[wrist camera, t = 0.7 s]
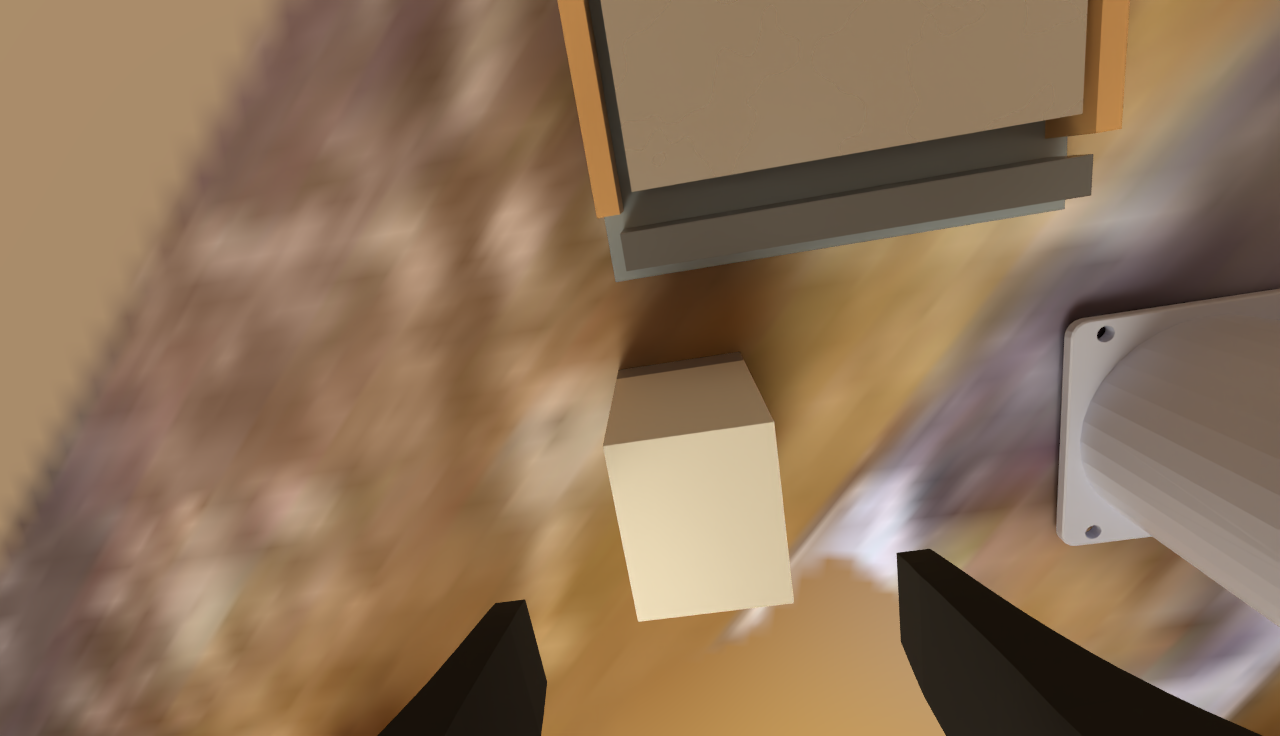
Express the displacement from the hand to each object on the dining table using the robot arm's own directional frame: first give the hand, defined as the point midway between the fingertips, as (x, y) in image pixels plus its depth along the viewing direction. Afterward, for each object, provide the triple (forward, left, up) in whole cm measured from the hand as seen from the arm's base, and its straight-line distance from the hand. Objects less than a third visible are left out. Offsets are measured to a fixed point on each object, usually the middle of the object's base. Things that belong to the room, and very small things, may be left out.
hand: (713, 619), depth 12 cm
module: (0, 0, -9) cm, 9 cm away
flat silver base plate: (-5, -11, -7) cm, 14 cm away
